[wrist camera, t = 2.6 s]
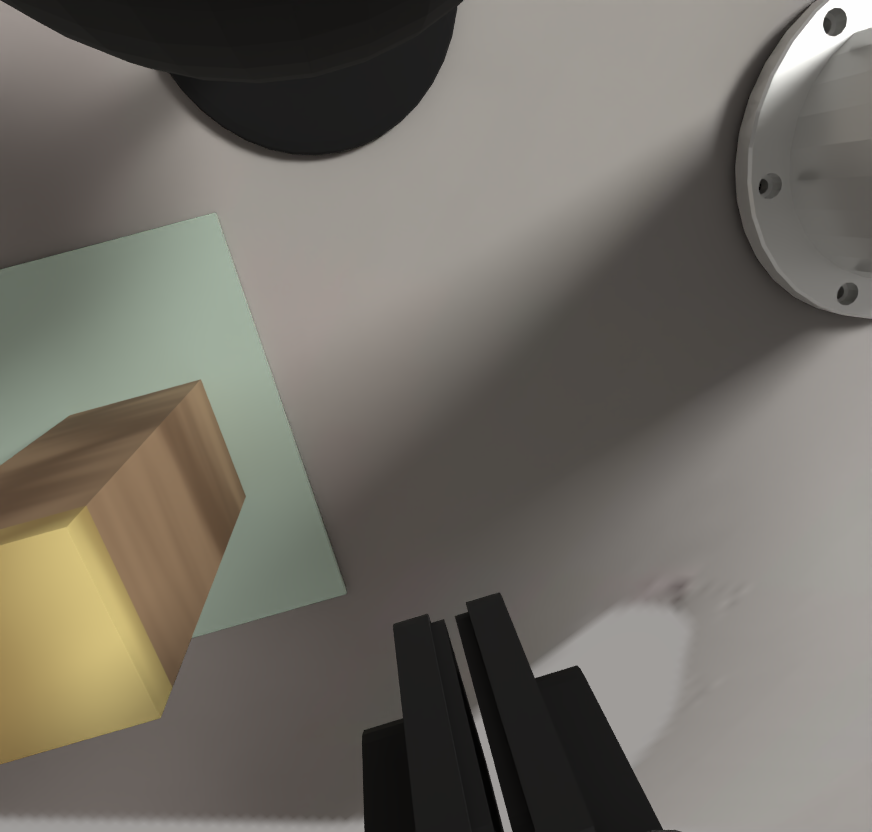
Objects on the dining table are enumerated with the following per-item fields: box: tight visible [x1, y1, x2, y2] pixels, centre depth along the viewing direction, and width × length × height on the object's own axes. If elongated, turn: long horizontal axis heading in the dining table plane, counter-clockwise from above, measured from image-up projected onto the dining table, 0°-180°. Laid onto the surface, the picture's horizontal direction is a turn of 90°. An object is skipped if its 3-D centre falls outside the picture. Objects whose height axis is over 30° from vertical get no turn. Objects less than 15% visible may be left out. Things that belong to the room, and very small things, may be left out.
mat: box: [0, 213, 347, 638], centre depth 25 cm, size 20×16×1 cm
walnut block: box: [0, 379, 246, 764], centre depth 20 cm, size 5×5×12 cm
